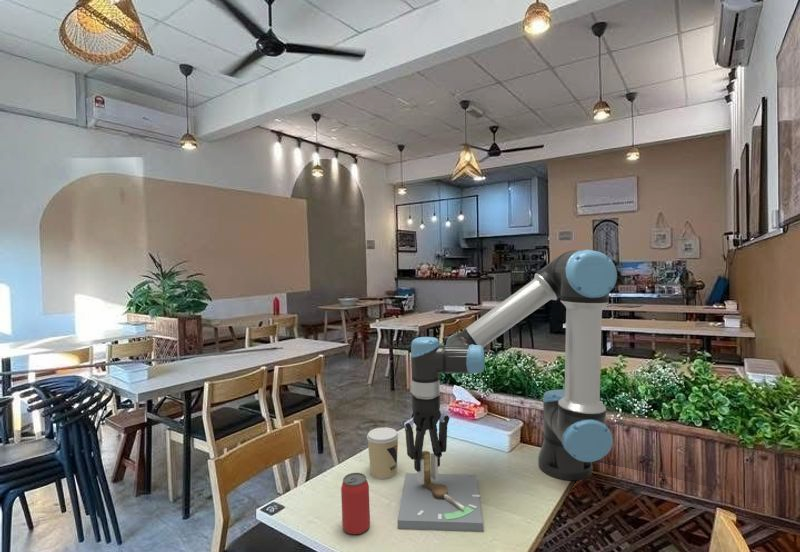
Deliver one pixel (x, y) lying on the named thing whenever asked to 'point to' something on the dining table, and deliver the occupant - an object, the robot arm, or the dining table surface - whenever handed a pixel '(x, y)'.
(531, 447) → the dining table surface
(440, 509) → the board
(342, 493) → the beer can
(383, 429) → the coffee cup
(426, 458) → the peg dial
